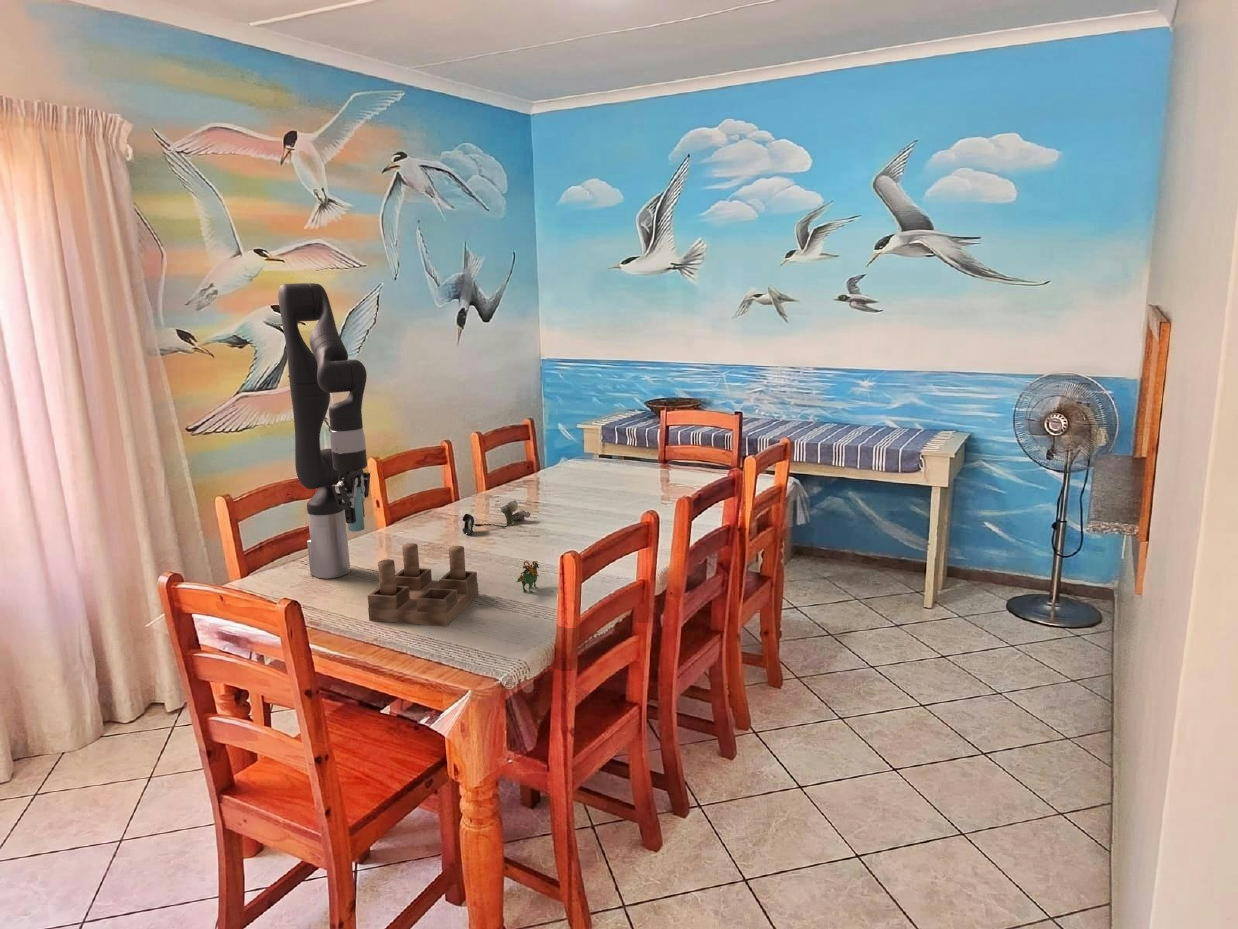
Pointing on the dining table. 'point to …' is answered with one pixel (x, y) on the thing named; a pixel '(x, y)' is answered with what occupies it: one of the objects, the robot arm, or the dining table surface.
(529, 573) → the figurine
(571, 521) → the dining table surface
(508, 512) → the artificial flower
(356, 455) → the robot arm
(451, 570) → the stool seat
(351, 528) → the loose leg
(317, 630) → the dining table surface
